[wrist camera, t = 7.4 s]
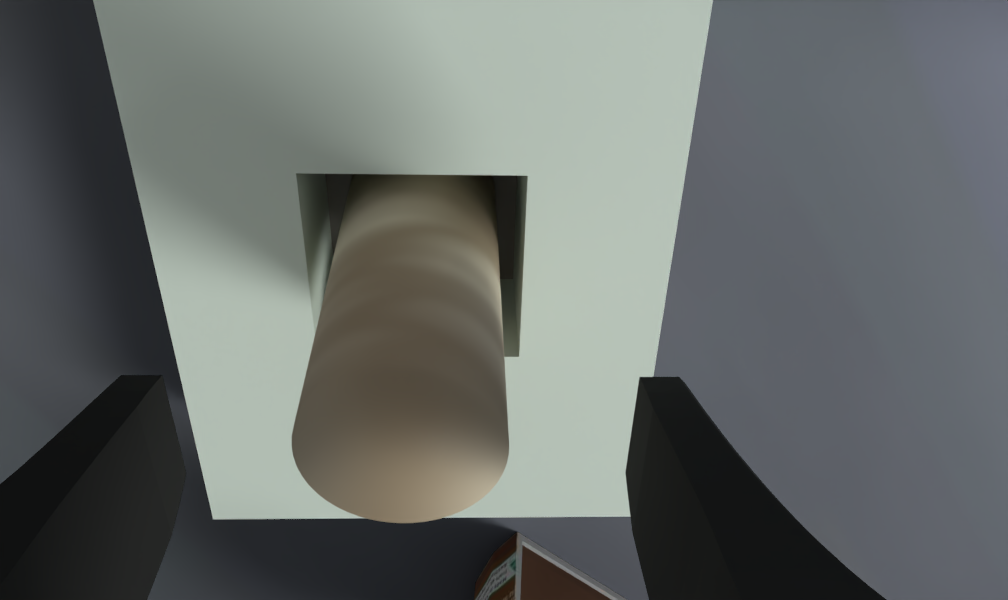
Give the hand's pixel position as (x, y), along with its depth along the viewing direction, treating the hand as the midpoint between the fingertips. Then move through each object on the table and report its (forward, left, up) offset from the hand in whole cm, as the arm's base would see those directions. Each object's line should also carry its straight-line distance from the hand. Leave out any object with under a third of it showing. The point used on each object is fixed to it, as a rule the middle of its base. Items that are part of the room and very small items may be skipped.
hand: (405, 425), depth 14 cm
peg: (0, 0, -7) cm, 7 cm away
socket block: (0, 0, -8) cm, 8 cm away
